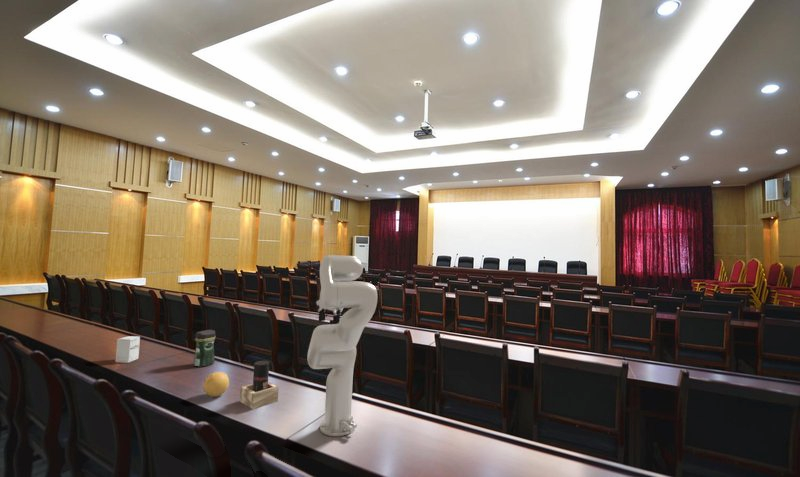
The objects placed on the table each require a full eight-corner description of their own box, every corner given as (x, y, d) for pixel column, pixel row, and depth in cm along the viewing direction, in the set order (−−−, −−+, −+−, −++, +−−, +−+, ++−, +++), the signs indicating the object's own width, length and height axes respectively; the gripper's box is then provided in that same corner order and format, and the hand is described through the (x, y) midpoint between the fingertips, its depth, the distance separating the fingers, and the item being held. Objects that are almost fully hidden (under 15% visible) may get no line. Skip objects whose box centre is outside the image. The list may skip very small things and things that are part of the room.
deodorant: (261, 402, 141) (263, 365, 142) (248, 400, 143) (251, 364, 143) (270, 397, 147) (272, 361, 148) (258, 395, 148) (260, 360, 149)
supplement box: (128, 363, 186) (130, 339, 186) (114, 362, 186) (116, 338, 186) (138, 358, 193) (140, 336, 194) (126, 358, 193) (127, 335, 194)
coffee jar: (208, 361, 194) (210, 328, 195) (216, 363, 190) (218, 330, 191) (190, 365, 185) (192, 330, 186) (199, 368, 181) (201, 333, 182)
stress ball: (228, 393, 154) (215, 376, 156) (237, 380, 150) (223, 363, 153) (208, 405, 145) (194, 387, 147) (216, 392, 141) (203, 373, 144)
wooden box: (277, 401, 146) (278, 386, 146) (252, 409, 137) (253, 394, 137) (264, 393, 153) (264, 380, 153) (239, 401, 144) (240, 386, 144)
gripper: (350, 284, 148) (348, 324, 147) (325, 281, 159) (323, 318, 158) (337, 285, 142) (335, 327, 142) (311, 282, 153) (309, 320, 153)
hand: (328, 322), depth 150 cm, fingers open, 9 cm apart
